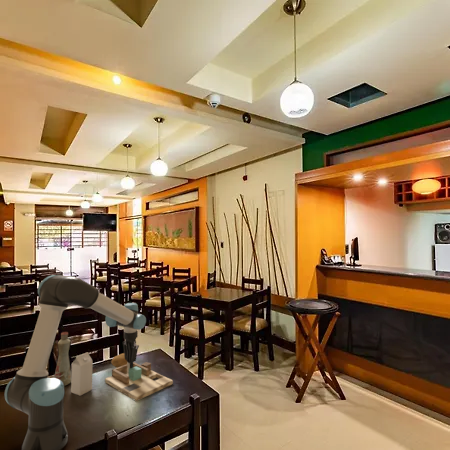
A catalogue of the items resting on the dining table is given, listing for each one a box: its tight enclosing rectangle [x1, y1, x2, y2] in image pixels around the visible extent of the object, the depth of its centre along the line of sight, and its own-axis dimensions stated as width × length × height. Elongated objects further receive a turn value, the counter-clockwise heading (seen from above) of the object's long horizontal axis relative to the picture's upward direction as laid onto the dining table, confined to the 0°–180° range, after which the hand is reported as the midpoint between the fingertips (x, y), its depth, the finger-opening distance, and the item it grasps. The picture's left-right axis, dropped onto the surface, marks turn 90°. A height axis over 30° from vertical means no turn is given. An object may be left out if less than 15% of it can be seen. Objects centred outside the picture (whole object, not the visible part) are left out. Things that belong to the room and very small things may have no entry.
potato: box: [110, 352, 127, 369], centre depth 187 cm, size 10×14×8 cm
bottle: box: [53, 331, 72, 387], centre depth 166 cm, size 9×9×28 cm
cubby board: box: [104, 361, 174, 402], centre depth 167 cm, size 23×30×6 cm
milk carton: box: [70, 352, 93, 396], centre depth 158 cm, size 7×7×19 cm
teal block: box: [128, 366, 142, 381], centre depth 168 cm, size 5×5×5 cm
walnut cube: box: [140, 362, 152, 371], centre depth 178 cm, size 4×4×4 cm
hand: (130, 373), depth 171 cm, fingers closed
